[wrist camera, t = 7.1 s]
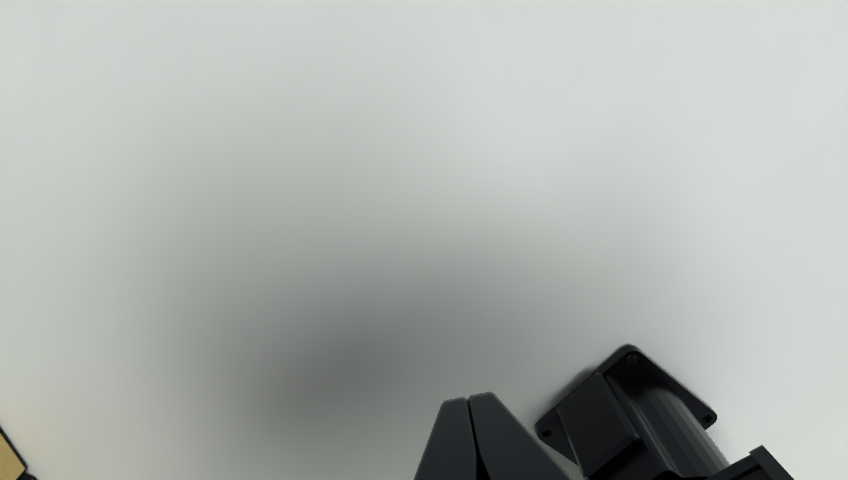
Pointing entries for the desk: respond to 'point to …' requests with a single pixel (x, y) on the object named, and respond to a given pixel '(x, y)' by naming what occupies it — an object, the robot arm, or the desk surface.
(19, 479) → the puzzle cube
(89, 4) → the desk surface
